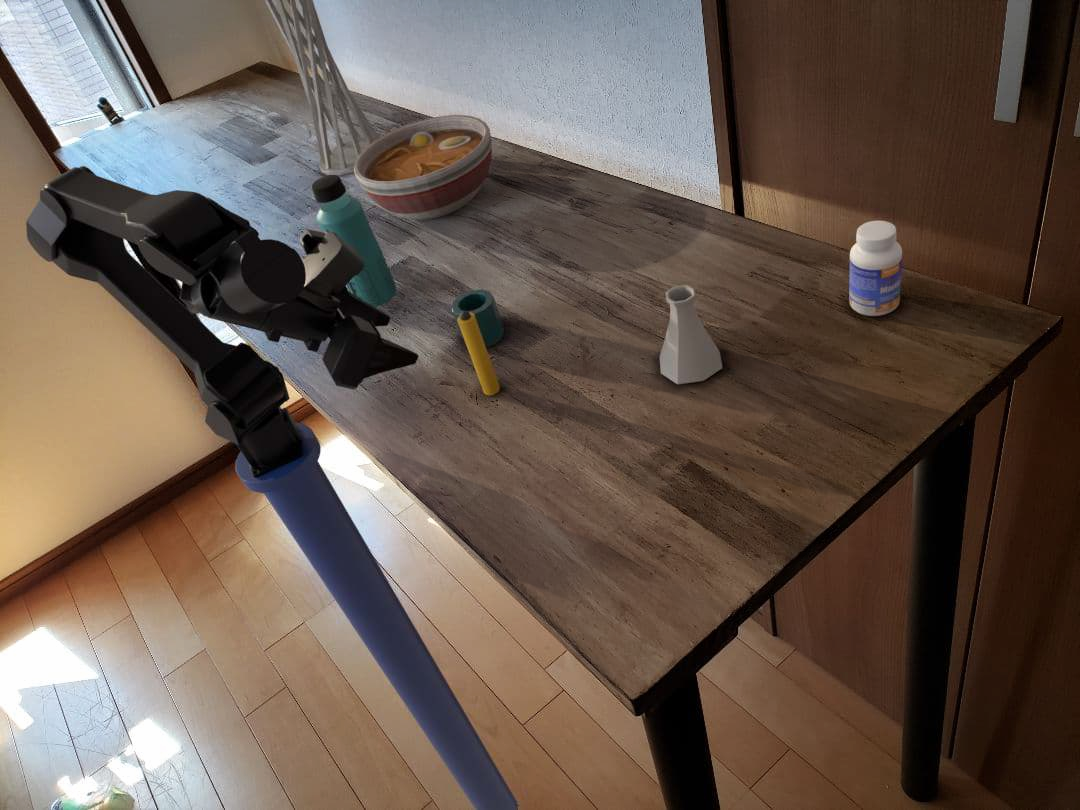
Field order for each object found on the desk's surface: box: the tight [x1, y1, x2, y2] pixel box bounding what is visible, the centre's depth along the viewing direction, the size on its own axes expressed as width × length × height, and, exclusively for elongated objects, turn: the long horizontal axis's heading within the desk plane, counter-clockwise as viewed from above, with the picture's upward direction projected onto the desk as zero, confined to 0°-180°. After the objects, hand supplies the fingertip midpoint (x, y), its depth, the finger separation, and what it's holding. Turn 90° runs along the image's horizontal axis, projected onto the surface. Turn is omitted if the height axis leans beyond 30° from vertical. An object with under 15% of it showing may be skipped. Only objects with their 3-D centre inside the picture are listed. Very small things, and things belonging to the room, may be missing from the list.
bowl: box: [353, 114, 493, 221], centre depth 138 cm, size 23×23×10 cm
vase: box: [263, 0, 380, 177], centre depth 153 cm, size 14×13×35 cm
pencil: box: [458, 311, 501, 396], centre depth 97 cm, size 2×2×12 cm
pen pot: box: [450, 289, 505, 349], centre depth 108 cm, size 5×5×6 cm
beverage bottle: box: [311, 175, 397, 308], centre depth 115 cm, size 6×7×20 cm
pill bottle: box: [848, 220, 903, 317], centre depth 93 cm, size 5×5×10 cm
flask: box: [659, 284, 723, 385], centre depth 93 cm, size 7×7×10 cm
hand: (402, 339), depth 92 cm, fingers open, 9 cm apart
